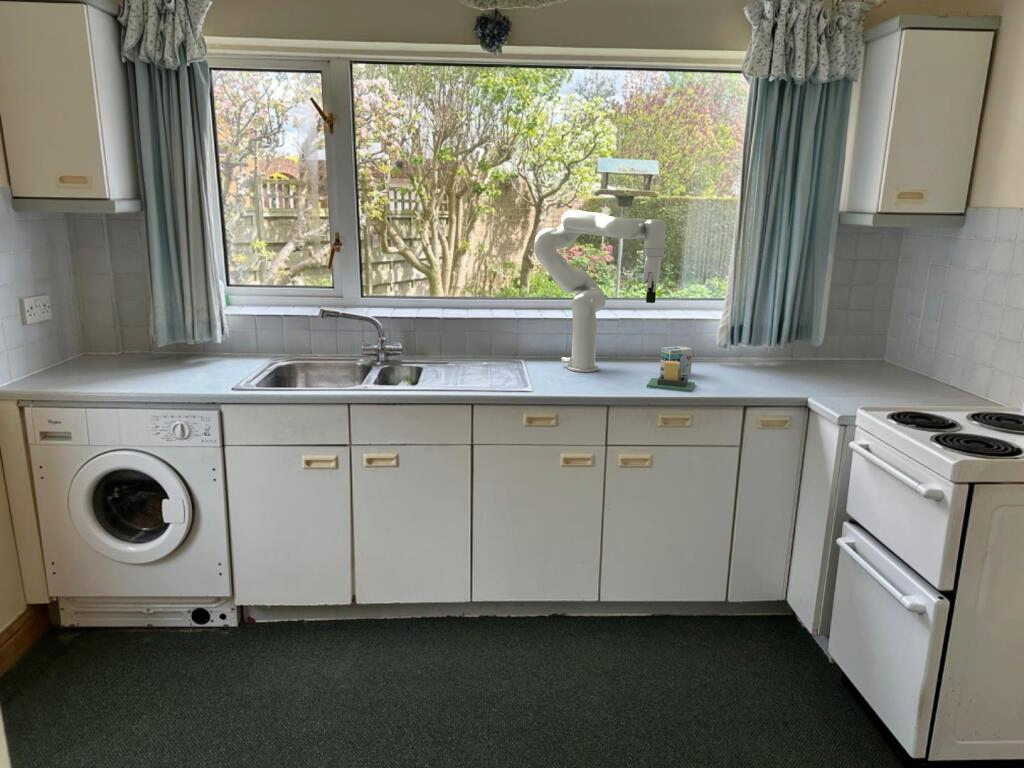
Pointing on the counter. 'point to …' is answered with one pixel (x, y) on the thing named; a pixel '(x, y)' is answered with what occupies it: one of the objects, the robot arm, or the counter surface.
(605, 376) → the counter surface
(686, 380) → the header board
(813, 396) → the counter surface
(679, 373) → the keyed plug
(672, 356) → the light bulb box
